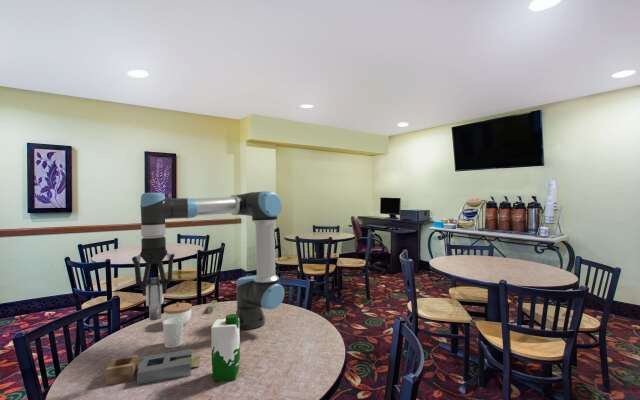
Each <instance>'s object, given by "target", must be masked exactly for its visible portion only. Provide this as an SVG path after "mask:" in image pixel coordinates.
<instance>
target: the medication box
mask: <svg viewBox="0 0 640 400" xmlns="http://www.w3.org/2000/svg"><path fill="white" fill-rule="evenodd" d="M217 303H218V300H216V299H215V300H212V301H211V302H210V303H209V305H208V306H207V312H206V313H207V314H210V315H211V313H212V314H213V312H214V311H215V310H216V308H217V306H218V305H217Z"/></svg>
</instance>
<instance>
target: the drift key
mask: <svg viewBox="0 0 640 400" xmlns="http://www.w3.org/2000/svg"><path fill="white" fill-rule="evenodd" d="M200 355H201V354H200V353H196V354H195V355H192V357H186V358H191V368H197V367H200V366H201V361H200ZM186 358H180V359H176V360H181V359H186Z"/></svg>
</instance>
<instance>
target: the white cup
mask: <svg viewBox="0 0 640 400" xmlns="http://www.w3.org/2000/svg"><path fill="white" fill-rule="evenodd" d="M162 332H163V333H162V334H163V341H164V347H165V348H166V349H172V348H173V349H174V348H177V347H180V346H181V345H182V344H183V337H184V336H183V335H184V326H183V318H170V319H167V320H165V319H164V320H163V321H162Z"/></svg>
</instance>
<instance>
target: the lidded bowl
mask: <svg viewBox="0 0 640 400" xmlns="http://www.w3.org/2000/svg"><path fill="white" fill-rule="evenodd" d="M192 311H193V305H192V303H188V302H179V301H178V302H176V303H173V304H169V305H166V306H165V307H164V308H163V313H164V314H163V316H164V321H165V320H167V319H170V318H183V327H184V326H185V325H187V324H188V323H189V321H190V320H191V317H192V314H193V313H192Z"/></svg>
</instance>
